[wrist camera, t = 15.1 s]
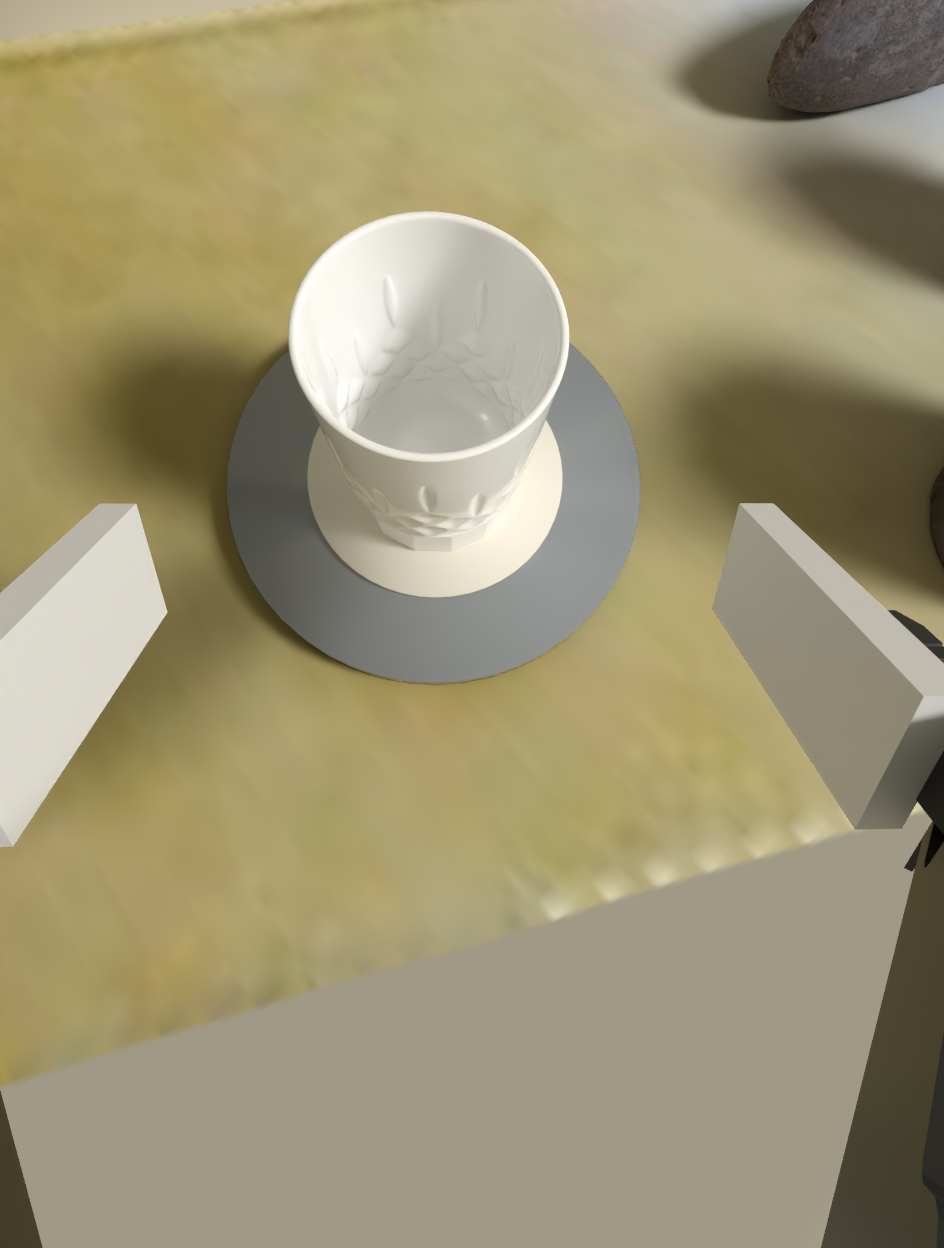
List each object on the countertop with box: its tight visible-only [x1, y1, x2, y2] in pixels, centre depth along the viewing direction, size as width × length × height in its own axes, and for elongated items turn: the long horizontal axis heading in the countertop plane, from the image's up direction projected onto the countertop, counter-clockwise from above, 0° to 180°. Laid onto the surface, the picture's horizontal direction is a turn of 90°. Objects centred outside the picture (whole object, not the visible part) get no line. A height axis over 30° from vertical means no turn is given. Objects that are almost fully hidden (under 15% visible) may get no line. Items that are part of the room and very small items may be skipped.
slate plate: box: [227, 343, 640, 685], centre depth 29 cm, size 18×18×2 cm
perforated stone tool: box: [767, 0, 944, 113], centre depth 32 cm, size 15×5×7 cm, turn 111°
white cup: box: [288, 211, 569, 551], centre depth 23 cm, size 8×8×10 cm
